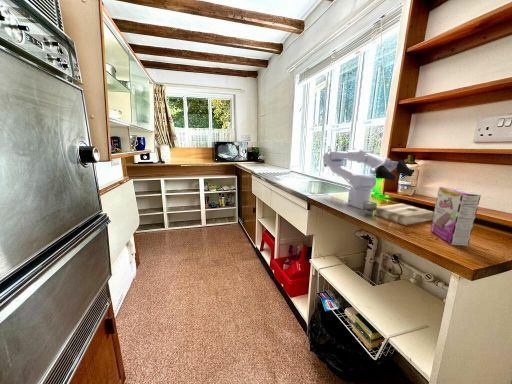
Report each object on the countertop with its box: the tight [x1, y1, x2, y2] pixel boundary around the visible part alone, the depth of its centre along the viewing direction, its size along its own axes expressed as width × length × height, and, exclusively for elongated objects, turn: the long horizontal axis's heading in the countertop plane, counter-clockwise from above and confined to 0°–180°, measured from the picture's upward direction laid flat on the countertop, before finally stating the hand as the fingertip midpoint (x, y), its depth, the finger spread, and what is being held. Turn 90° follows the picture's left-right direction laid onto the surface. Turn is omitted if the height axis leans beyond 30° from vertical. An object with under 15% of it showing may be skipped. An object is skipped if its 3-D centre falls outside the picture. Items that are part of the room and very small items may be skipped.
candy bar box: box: [429, 186, 482, 247], centre depth 68 cm, size 11×5×16 cm, turn 168°
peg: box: [362, 201, 378, 218], centre depth 90 cm, size 5×5×6 cm
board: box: [374, 203, 434, 226], centre depth 90 cm, size 13×17×4 cm
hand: (403, 176), depth 82 cm, fingers open, 7 cm apart
